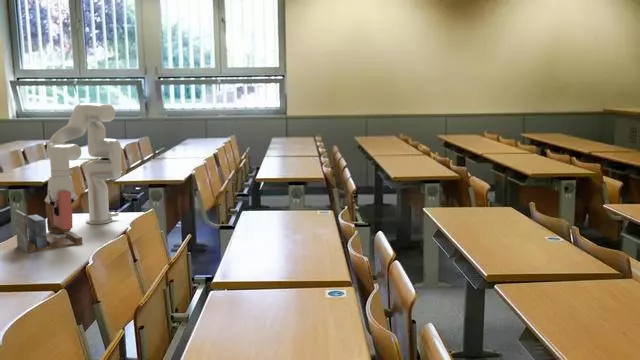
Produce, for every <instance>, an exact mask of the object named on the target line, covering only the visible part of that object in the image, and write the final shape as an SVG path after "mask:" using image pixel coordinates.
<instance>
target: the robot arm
mask: <svg viewBox="0 0 640 360" xmlns="http://www.w3.org/2000/svg"><path fill="white" fill-rule="evenodd" d="M115 116H116V110H115V108H114V106H113V105H112V104H108V103H107V104H105V103H79V104H77V105H75V106H74V108H73V111H72V113H71V115H70V118H69V120H68V123H67V125H65V126H63V127H61V128H60V129H58V130H57V131H55V132H54V133H53V135H51V137H50V139H49V141H48V144H47V146H46V151H45V152H46V153H45V154H46V157H48V159H50V162H49V163H50V176H49V177H48V182H47V195H46V197H45V198H44V202H45V203H46V202H48V203H50V204H51V205H52V206H53V207H54V214H55V215H56V216H59V209H58V206H57V204H58V192H62V191H69V192H71V205H72V204H73V203H74V202H76V200H77V199H78V198H79V196H78V195H77V193H76V192H75V187H74V183H73V182H74V181H73V178H72V176H71V174H73V173H74V172H73V170H72V169H70V161H77V160H79V158H81V155H82V148H81V147H80V146H79V145H78V144H76V143H66V142H69V141H71V140H75V139H78V138H80V137H83V136H84V135H85V134H86V132H87V151H88V152H87V153H88V155H89V157H92V158H101V159H97V160H96V159H94V160H90V161H87V162H86V164H85V165H84V172H85V173H84V174H85V176H86V181H87V192H88V193H87V196H88V197H87V198H88V213H89V218H87V219H86V221H85V222H86V224H91V225H102V224H103V225H104V224H108V223H111V222H113V217H119V212H110V209H109V208H110V206H109V187H108V184H107V182H106V181H105V180H119V178H120V177H121V176H122V166H123V165H122V145H121V142H120V141H119V140H118V139H117V138H116V139H115V138H107V135H106V132H107V131H106V127H105V125H104V123H105V122H109V123H110V122H112V121H113V120H115ZM103 122H104V123H103ZM102 158H103V160H102ZM104 158H105V159H106V158H107V159H110V160H104ZM49 199H51V200H53V202H52V201H50V200H49Z"/></svg>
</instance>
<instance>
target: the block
mask: <svg viewBox="0 0 640 360" xmlns="http://www.w3.org/2000/svg"><path fill="white" fill-rule="evenodd" d="M49 200H50V201H52V202H53V200H51V199H49ZM71 207H72V208H73V206H72V204H71ZM45 213H46V217H47V219H46V228H47V231H48V233H49V232H50V233H51V234H53V233H54V234H59V235H60V234H65V232H71V230H72V228H70V229H61V228H59V227H57V226H56V225H54V218H53V206H52V205H51V204H50V203H48V202H46V201H45Z"/></svg>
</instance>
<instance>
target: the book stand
mask: <svg viewBox="0 0 640 360" xmlns="http://www.w3.org/2000/svg"><path fill="white" fill-rule="evenodd" d="M14 216H15V230H16V244H17V246H16V247H18V248H19V249H20V250H22V251H23V252H24V253H26V254H27V253H35V252H36V253H37V252H43V251H48V250H53V249H54V250H55V249H61V248H67V247H72V246H80V245H83V237H82V236H80V235H78V234H76V233H75V232H73V231H70V232H65V233H64V234H65V236H62V237H60V236H59V237H57V236H56V235H53V233H51V234H47V219H46V218H44V217H42V216H40V215H38V214H33V215H32V214H31V215H30V214H29V215H27V214H25V213H24V212H22V211H20V210H19V209H15V210H14Z"/></svg>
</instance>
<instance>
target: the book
mask: <svg viewBox="0 0 640 360" xmlns="http://www.w3.org/2000/svg"><path fill="white" fill-rule="evenodd" d="M71 199H72V198H71V192H69V191H62V192H58V204H57V206H58V209H59V216H56V215H55V214H54V207H53V218H54V225H56V226H57V227H59V228H61V229H70V228H71V229H73V206H72V207H71V205H72V204H71Z"/></svg>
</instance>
